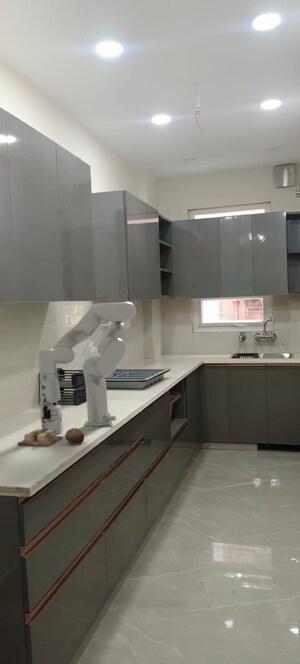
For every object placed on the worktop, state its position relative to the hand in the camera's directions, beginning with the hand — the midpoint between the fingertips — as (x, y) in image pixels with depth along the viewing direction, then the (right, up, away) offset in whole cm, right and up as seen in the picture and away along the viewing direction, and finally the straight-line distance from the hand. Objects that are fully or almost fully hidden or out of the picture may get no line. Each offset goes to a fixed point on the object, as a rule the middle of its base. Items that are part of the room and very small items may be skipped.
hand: (51, 416), depth 224 cm
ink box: (0, -7, 0) cm, 7 cm away
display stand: (-2, -8, -15) cm, 17 cm away
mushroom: (+13, -8, -20) cm, 25 cm away
